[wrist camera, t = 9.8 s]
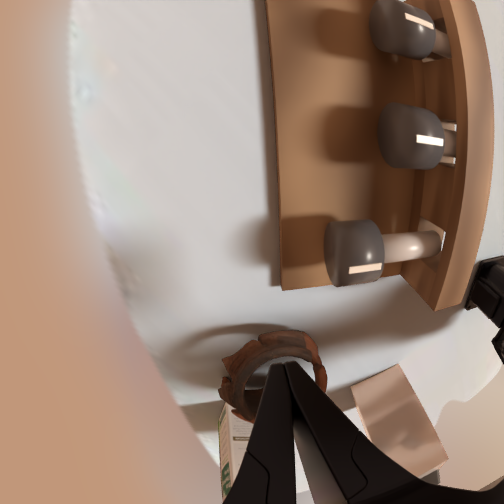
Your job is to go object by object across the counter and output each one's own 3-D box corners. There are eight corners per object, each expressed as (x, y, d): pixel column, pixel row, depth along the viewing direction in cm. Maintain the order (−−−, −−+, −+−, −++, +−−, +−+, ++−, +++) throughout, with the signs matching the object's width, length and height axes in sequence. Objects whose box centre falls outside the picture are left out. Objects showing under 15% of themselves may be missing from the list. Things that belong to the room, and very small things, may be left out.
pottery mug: (192, 367, 24) (194, 405, 16) (256, 296, 26) (284, 306, 18) (278, 425, 26) (306, 466, 18) (334, 363, 28) (377, 388, 20)
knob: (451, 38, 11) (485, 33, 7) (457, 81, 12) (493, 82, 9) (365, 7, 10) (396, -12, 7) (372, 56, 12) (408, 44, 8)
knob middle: (459, 120, 14) (496, 127, 10) (457, 168, 15) (492, 181, 12) (376, 103, 13) (413, 101, 10) (376, 162, 15) (412, 174, 12)
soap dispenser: (357, 413, 31) (400, 539, 12) (350, 386, 28) (406, 546, 8) (397, 394, 31) (450, 514, 11) (398, 363, 27) (470, 511, 7)
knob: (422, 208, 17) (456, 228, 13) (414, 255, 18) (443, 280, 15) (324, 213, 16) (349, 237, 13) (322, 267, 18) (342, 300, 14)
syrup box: (225, 398, 26) (231, 521, 13) (277, 401, 27) (298, 516, 14) (217, 421, 29) (221, 525, 16) (263, 423, 30) (277, 523, 17)
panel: (425, 16, 11) (474, 2, 6) (421, 265, 21) (460, 303, 15) (262, -18, 10) (278, -66, 5) (280, 284, 20) (298, 340, 15)
